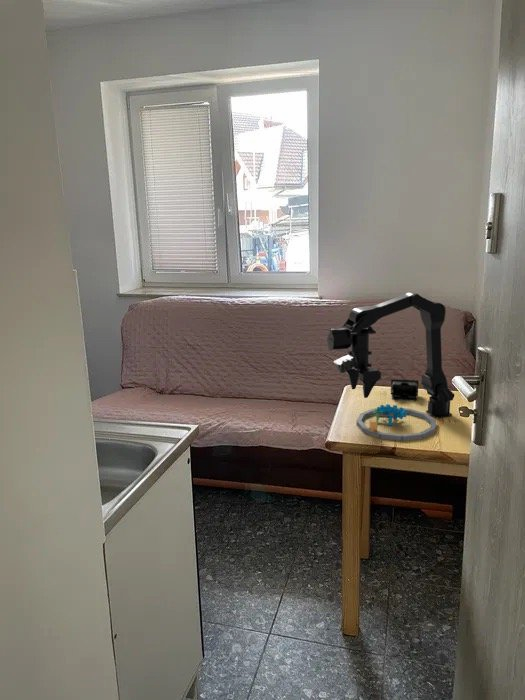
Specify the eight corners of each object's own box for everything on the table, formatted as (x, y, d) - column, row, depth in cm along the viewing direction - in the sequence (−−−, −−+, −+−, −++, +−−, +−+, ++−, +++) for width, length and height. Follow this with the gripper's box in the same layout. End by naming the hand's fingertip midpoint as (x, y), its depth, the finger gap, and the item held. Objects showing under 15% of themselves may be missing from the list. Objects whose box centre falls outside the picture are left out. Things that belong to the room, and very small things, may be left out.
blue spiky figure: (410, 416, 182) (402, 402, 175) (408, 432, 179) (400, 419, 172) (378, 415, 187) (370, 402, 180) (376, 431, 185) (367, 418, 177)
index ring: (389, 406, 196) (389, 394, 195) (450, 425, 177) (451, 412, 176) (341, 424, 180) (341, 412, 179) (403, 447, 162) (404, 434, 160)
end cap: (417, 394, 207) (418, 378, 205) (418, 401, 200) (418, 383, 199) (390, 393, 210) (391, 376, 208) (390, 399, 203) (390, 382, 201)
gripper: (325, 343, 181) (326, 387, 185) (349, 357, 163) (348, 405, 167) (356, 340, 183) (355, 384, 187) (382, 353, 166) (381, 401, 170)
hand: (359, 393), depth 178 cm, fingers open, 9 cm apart
